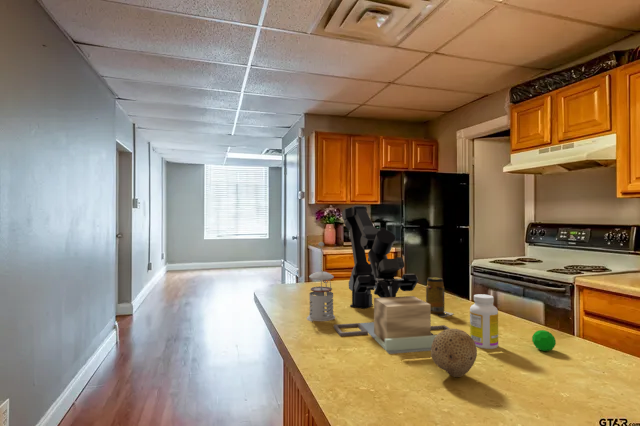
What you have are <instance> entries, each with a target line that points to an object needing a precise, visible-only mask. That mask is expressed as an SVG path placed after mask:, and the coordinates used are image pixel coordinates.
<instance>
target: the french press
mask: <svg viewBox="0 0 640 426" xmlns="http://www.w3.org/2000/svg"><path fill="white" fill-rule="evenodd" d="M317 245H318V246H320V271H316V272H314V273H311V274H310V275H309V276H308V277H309V279H310V280H314V281H315V280H316V281H320V286H313V287H310V292H309V314H308V316H307V317H306V320H307V321H309V322H312V323H314V321H315V322H329V321H333V320H334V319H336V316H335V315H334V293H333V292H332V290H333V288H332V283H331V280H332V279H334V277H335V276H334V275H333V274H331V273H330V272H327V271H323V269H322V268H323V267H322V266H323V265H322V263H323V261H322V258H323V257H322V247H323V246H325V243H324V242H323V241H321V242H320V241H319V242H318V244H317ZM322 282H323V283H322ZM328 283H329V284H330V286H328V285H327V284H328ZM323 284H325V286H322V285H323Z"/></svg>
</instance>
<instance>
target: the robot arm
mask: <svg viewBox="0 0 640 426" xmlns="http://www.w3.org/2000/svg"><path fill="white" fill-rule="evenodd" d="M341 219H342V220H343V225H344V226H345V228H346V229H347V230H348V231H349V236H350V237H349V238H350V243H351V244H350V245H351V249H352V257H353V262H354V263H353V264H354V265H353V268H352V270H351V275H350V277H349V281H348V289H349V290H350V291H351V304H350V305H349V307H351V308H357V309H363V310H367V309H368V308H371V307H374V303H373V295H376V296H378V298H383V297H397V293H398V291H399V290H401V291H402V292H412V291H414V289H415V288H416V285H417V284H418V282H419V278H418V276H417V274H415V273H403V274H402V276H401V278H395V277H397V274H398V273H397V272H398V271H400V270H402V269H403V268H404V267H405V261H404V258H403V257H402V256H398V257H395V258H388V255H389V254H390V252H391V249H392V248H393V245H394V243H395V240H396V235H395V234H394V233H393V232H391V231H390V230H387V229H386V227H379V228H377V227H375V226H374V224H373V222H372V220H371V218H370V215H369V214H368V210H367V206H365V205H353V206H352V207H346V208H344V209H343V210H342V213H341ZM366 251H368V252H367V253H368V254H367V256H366ZM372 291H373V294H372Z"/></svg>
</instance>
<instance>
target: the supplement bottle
mask: <svg viewBox="0 0 640 426" xmlns="http://www.w3.org/2000/svg"><path fill="white" fill-rule="evenodd" d="M473 301H474V304H471V306H470V307H469V330H470V331H469V336H470V337H471V338H472V339H473V340H474V342H475V344H476V348H480V349H487V350H488V349H489V350H490V349H491V350H493V349H496V348H497V349H498V347H499V311H498V308H497V307H496V306H495V305H494V301H495V300H494V296H493V295H489V294H484V293H483V294H481V293H480V294H479V293H478V294H474V295H473Z"/></svg>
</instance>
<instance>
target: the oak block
mask: <svg viewBox="0 0 640 426" xmlns="http://www.w3.org/2000/svg"><path fill="white" fill-rule="evenodd" d="M431 314H432V313H431V304H429V303H427V302H426V300H425V301H424V300H422V299H420V298H418V297H416V296H415V295H409V296H408V295H407V296H396V297H383V298H380V297H374V298H373V322H374V334H375V335H376V336H377V337H379V338H380V339H381V340H382V341H383V342H384V343H385V339H388V338H402V337H417V336H431V333H432V332H431V331H432V330H431V326H432V323H431V321H432V320H431V316H432V315H431Z"/></svg>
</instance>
